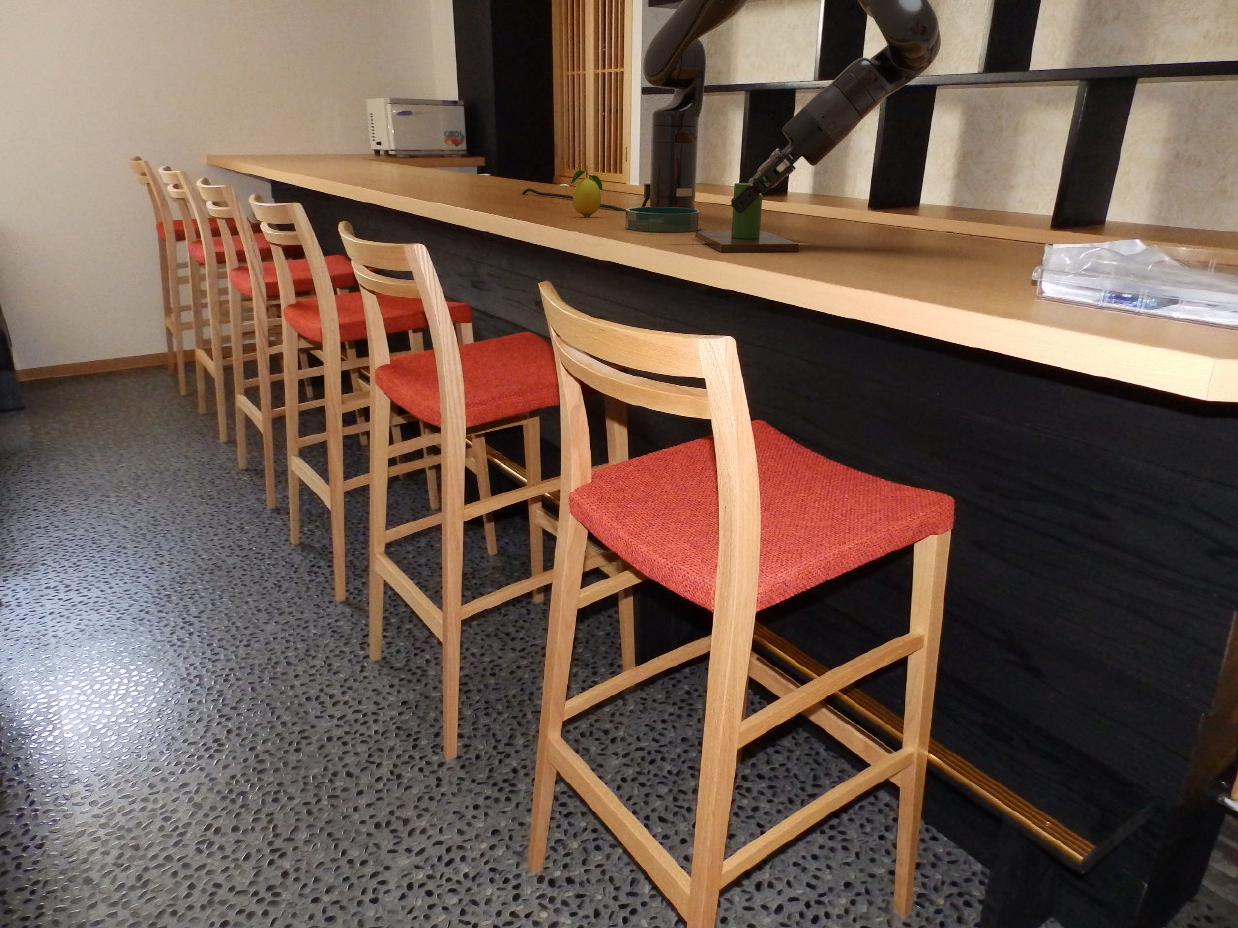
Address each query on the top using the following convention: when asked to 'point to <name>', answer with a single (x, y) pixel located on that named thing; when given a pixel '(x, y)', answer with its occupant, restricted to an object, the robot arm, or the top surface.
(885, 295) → the top surface
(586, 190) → the lemon
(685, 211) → the bowl
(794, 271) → the top surface
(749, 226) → the tall green pillar
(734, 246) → the board
